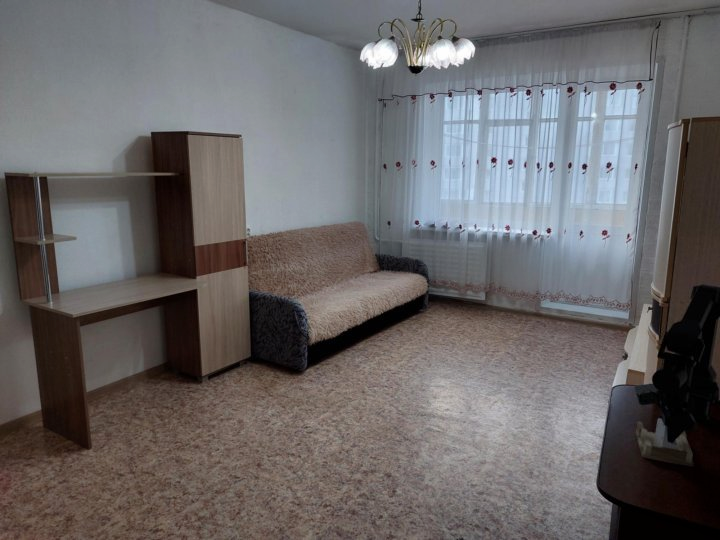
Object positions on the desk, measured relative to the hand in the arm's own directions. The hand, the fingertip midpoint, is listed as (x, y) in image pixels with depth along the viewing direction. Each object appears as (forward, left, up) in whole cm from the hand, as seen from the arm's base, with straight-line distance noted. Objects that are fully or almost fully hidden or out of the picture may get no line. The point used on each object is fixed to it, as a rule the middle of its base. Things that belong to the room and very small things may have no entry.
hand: (667, 436), depth 127 cm
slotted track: (-3, 0, -5) cm, 6 cm away
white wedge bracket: (0, 0, -4) cm, 4 cm away
